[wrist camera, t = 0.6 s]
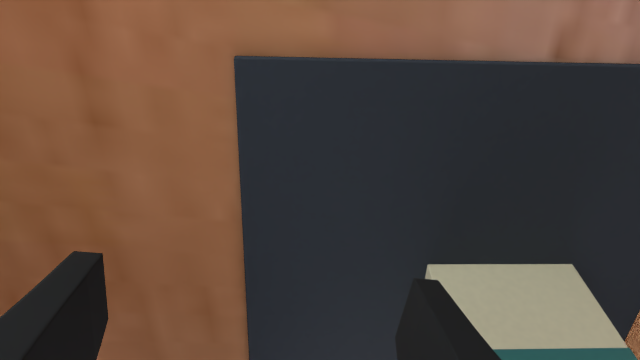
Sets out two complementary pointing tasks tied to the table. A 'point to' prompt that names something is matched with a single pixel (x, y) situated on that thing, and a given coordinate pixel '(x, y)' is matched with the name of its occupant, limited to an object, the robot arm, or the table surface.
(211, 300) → the table surface
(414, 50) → the table surface
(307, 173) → the mat
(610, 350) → the tea box
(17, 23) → the table surface
